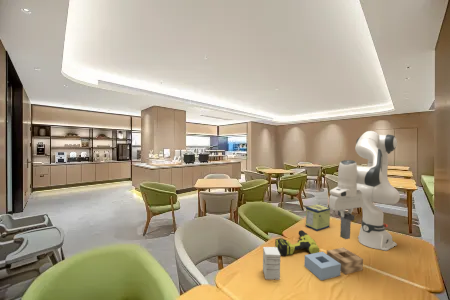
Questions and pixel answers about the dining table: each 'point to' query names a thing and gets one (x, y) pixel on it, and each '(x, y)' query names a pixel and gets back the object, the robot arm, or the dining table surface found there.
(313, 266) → the block
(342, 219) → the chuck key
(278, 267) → the supplement box
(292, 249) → the cordless drill
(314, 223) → the protein box
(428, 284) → the dining table surface
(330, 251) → the stand
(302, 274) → the dining table surface
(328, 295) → the dining table surface
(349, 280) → the dining table surface
